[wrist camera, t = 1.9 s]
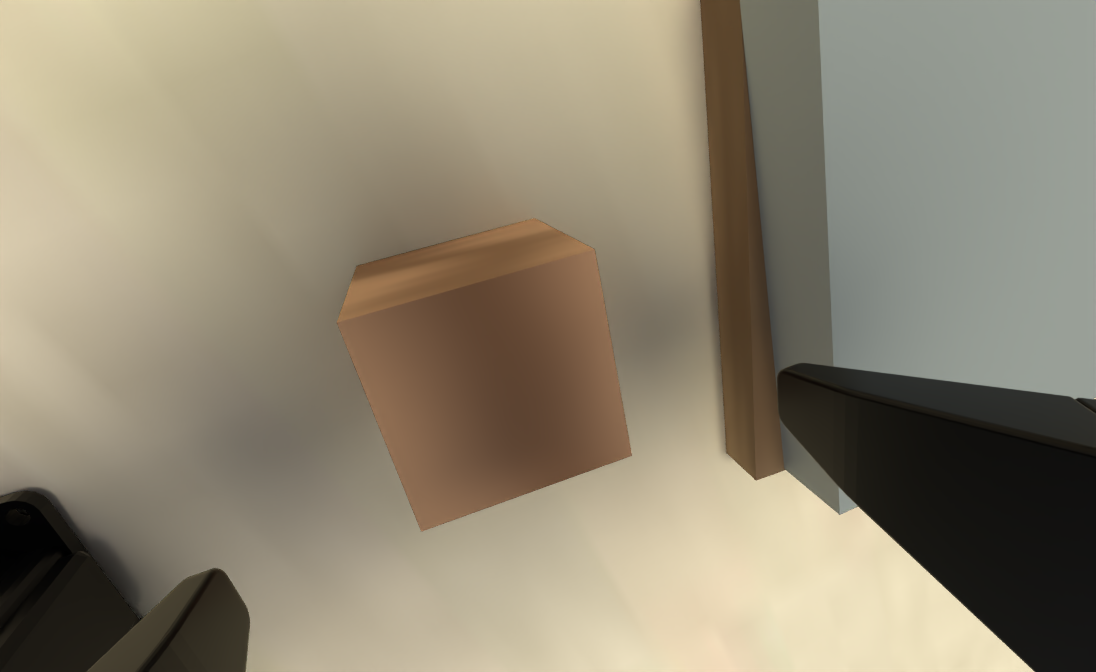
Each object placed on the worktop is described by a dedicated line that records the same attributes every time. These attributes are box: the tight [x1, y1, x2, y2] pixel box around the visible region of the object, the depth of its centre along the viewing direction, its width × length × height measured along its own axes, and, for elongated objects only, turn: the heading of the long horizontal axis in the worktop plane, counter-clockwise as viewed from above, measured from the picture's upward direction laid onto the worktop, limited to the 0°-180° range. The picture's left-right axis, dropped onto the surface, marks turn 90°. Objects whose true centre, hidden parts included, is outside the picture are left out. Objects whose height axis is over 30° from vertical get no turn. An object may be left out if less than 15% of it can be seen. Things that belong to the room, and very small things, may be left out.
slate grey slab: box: [740, 0, 1096, 515], centre depth 15 cm, size 11×15×2 cm
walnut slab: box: [700, 0, 785, 480], centre depth 17 cm, size 12×16×2 cm
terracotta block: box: [337, 218, 632, 531], centre depth 13 cm, size 5×5×5 cm
